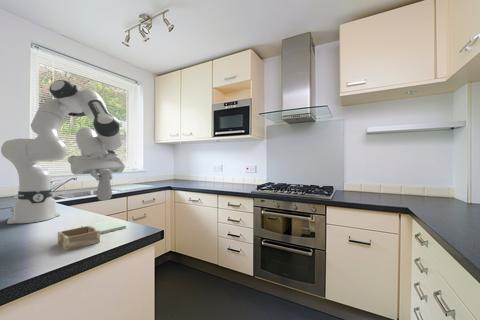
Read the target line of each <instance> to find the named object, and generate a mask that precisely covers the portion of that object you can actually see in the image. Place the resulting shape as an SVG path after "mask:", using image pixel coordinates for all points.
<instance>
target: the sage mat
mask: <svg viewBox="0 0 480 320" xmlns="http://www.w3.org/2000/svg"><path fill="white" fill-rule="evenodd" d="M85 226H92V227H93V228H95V229H97V230H99V231H100V235H102V234H106V233H111V232H114V231H118V230H123V228H124V229H126V228H127V225H125V224H123V223H121V222H118V221H116V220H113V219H110V220H105V221H99V222H95V223H89V224H85V225H81V226H80V228H81V227H85Z"/></svg>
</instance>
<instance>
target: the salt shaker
mask: <svg viewBox="0 0 480 320" xmlns="http://www.w3.org/2000/svg"><path fill="white" fill-rule="evenodd" d="M109 174H110V170H109V169H100V170H99V174H98V175H101V177H102V179H101V180H99V181H98V185H97V188H96V193H95V194H96V195H95V196H96V197H97V198H98V201H109V200H111V198H112V196H113V189H112V185H111V180H110V178H109Z"/></svg>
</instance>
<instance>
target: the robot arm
mask: <svg viewBox="0 0 480 320" xmlns="http://www.w3.org/2000/svg"><path fill="white" fill-rule="evenodd" d="M49 92H50V94H51V96H52V97H53V99H52V98H48V99H46V100H44V101H43V103H42V104H40V106H39V108H38V109H37V111H36V113H35V115H34V117H33V119H32V122H31V123H30V128H31V130H32V132H34V133H35V134H36V135H37V137H36V138H14V139H9V140H6V141H4V142H3V143H2V145H1V146H0V147H1V148H0V152H1V155H2V157H4V158H5V159H6V160H8V161H9V162H10V163H11V164H12V165H13V166H14V168H15V169H16V171H17V174H18V183H19V184H18V185H19V188H18V189H19V191H17V202H15V204H13V206H11V207H10V213H11V215H10V217H9V218H8V220H7V222H6V224H8V225H9V224H11V225H12V224H29V223H30V224H31V223H37V222H43V221H48V220H51V219H53V218H56V217H59V216H61V213H59V212H57V202H56V199H54V198H53V197H52V196H53V189H52V186H51V185H52V184H51V183H52V182H51V181H52V178H51V177H52V175H51V173H50V172H49V171H48V170H47V169H46V170H45V169H44V168H43V167H42V166H41V164H40V162H57V161H61V160H64V159H65V157H66V156H67V154H68V147H67V145H66V144H65V142H64V141H62V140H61V138H60V132H61V127H62V125H63V122H64V120H65V117H66V116H67V115H69V116H70V117H77V118H78V117H87V118H88V119H89V120H92V121H93V123H92V124H93V127H94V129H93V128H90V127H83V128H80V129H78V130H77V132H76V134H75V142H76V145H77V148H78V150H79V151H80V155H70V156H68V157H67V162H68V163H69V164H70V166H69V167H70V171H71V174H73V175H90V176H91V177H93V178H94V179H95V181H98V182H99V180H101V179H102V177H101V175H99V170H100V169H109V170H110V174H109V178H110V181H111V180H112V179H113V175H112V174H117V173H118V174H119V173H123V171H125V168H126V167H125V164H124V162H123V160H122V158H121V157H120V156H118V152H117V151H115V150H118V149H120V147H122V144H123V140H122V135H121V130H120V128H121V127H120V121H119V119H117V118H116V116H114V115H112V114H111V113H110V112H109V111H108V107H107V105H106V103H105V101H104V99H103V98H102V96H100V94H99V93H97V91H95V90H94V89H88V88H86V89H84V90H81V89H78V86H77V85H76V84H73V83H71V82H69V81H67V80H63V79H60V80H59V79H58V80H56V81H53V83H51V85H49Z"/></svg>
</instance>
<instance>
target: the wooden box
mask: <svg viewBox="0 0 480 320" xmlns="http://www.w3.org/2000/svg"><path fill="white" fill-rule="evenodd" d="M100 239H101V234H100V231H99V230H97V229H95V228H93V227H92V226H85V227H81V226H80V227H77V228H72V229H67V230H62V231H58V232H57V244H58V246H60V247H61V248H62V249H63V250H64V251H66V252H67V251H70V250H75V249H79V248H84V247H86V246H90V245H94V244H97V243H100V242H101V240H100Z"/></svg>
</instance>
